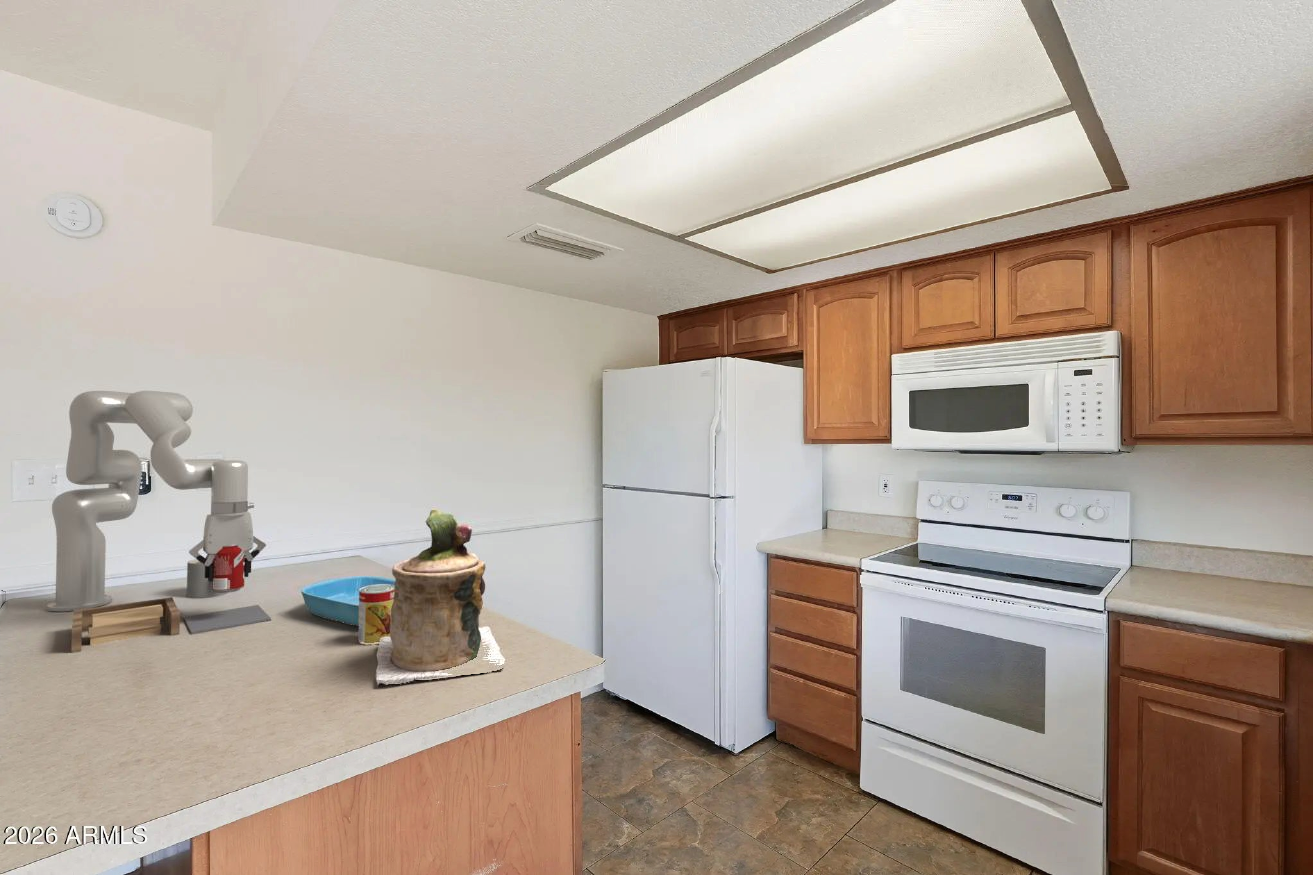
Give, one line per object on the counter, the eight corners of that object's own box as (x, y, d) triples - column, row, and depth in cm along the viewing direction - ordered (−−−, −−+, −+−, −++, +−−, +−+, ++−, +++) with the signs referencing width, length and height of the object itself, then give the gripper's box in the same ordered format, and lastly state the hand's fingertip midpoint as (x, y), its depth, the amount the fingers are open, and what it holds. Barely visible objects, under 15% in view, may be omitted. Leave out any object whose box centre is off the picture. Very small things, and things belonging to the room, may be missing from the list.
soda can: (226, 594, 144) (227, 546, 144) (204, 593, 146) (205, 545, 146) (250, 588, 151) (251, 542, 151) (229, 586, 152) (230, 540, 152)
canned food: (401, 639, 136) (402, 588, 136) (366, 647, 130) (367, 594, 130) (387, 631, 141) (388, 582, 141) (352, 639, 136) (353, 587, 136)
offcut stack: (88, 641, 132) (88, 614, 132) (160, 629, 141) (161, 604, 141) (88, 646, 129) (89, 619, 129) (162, 633, 138) (163, 608, 138)
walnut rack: (73, 631, 137) (73, 610, 137) (171, 616, 150) (172, 597, 150) (71, 652, 125) (71, 629, 125) (179, 633, 137) (179, 612, 137)
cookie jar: (373, 691, 109) (376, 520, 109) (377, 647, 131) (380, 505, 131) (507, 671, 119) (510, 515, 119) (490, 634, 141) (492, 502, 141)
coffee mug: (184, 593, 172) (185, 559, 172) (225, 587, 179) (226, 555, 179) (191, 602, 162) (192, 567, 162) (234, 596, 169) (235, 562, 170)
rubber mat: (183, 618, 149) (183, 616, 149) (258, 606, 160) (258, 604, 160) (191, 634, 137) (191, 632, 137) (271, 620, 148) (271, 618, 148)
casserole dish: (450, 613, 157) (451, 587, 157) (379, 638, 137) (379, 608, 137) (359, 595, 173) (359, 571, 173) (283, 615, 153) (283, 588, 153)
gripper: (266, 505, 157) (265, 570, 157) (184, 509, 145) (182, 581, 145) (272, 507, 152) (271, 575, 152) (187, 512, 140) (186, 586, 140)
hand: (228, 577), depth 148 cm, fingers closed on soda can, 6 cm apart
